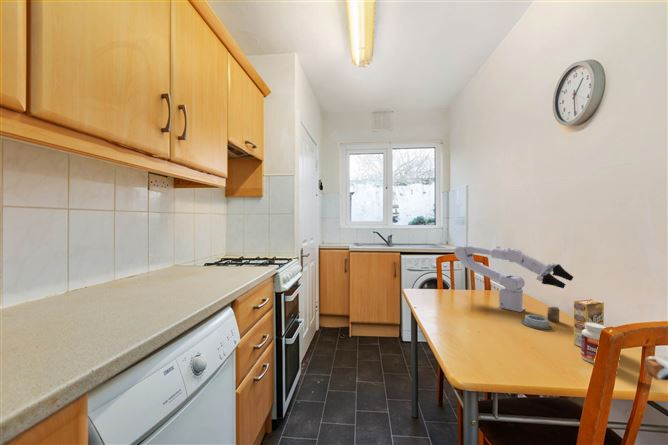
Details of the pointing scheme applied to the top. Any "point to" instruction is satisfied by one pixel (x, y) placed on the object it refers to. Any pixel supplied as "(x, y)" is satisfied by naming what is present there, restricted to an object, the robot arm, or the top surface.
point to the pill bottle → (590, 341)
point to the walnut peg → (553, 314)
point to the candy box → (586, 316)
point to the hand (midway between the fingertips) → (568, 282)
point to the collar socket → (536, 322)
